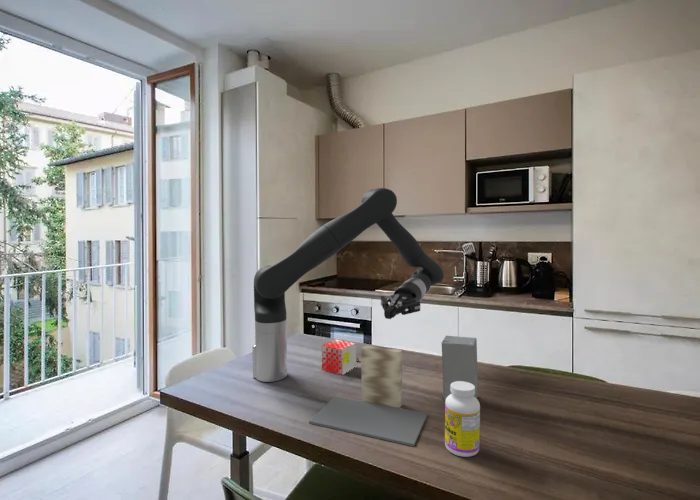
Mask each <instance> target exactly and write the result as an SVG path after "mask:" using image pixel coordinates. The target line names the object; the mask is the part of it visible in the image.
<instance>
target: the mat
mask: <svg viewBox="0 0 700 500" xmlns="http://www.w3.org/2000/svg"><path fill="white" fill-rule="evenodd" d="M428 416H429V415H428V412H425V411H424V412H423V411H419V410H418V411H417V410H413V409H407V408H402V407H400V408H397V407H391V406H386V405H380V404H375V403H369V402H364V401H362V400H357V399H352V398H347V397H341V396H336V395H335V396H334V397H332V399H331V400H330V401H329V402H328V403H327V404H325V405H324V407H322V408H321V409H320V410H319V411H318V412H317V413H316V414H315V415H314V416H313V417H312V418H311V419H310V420H309V422H308V423H309V424H311V425H316V426H320V427H325V428H329V429H334V430H338V431H341V432H342V431H343V432H347V433H351V434H356V435H361V436H364V437H365V436H366V437H369V438H374V439H379V440H383V441H387V442H392V443H397V444H401V445H406V446H409V447H415V445H416V443H417V440H418V438H419V436H420V434H421V432H422V428H424V424H425V422H426V420H427V418H428Z"/></svg>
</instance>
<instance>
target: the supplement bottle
mask: <svg viewBox="0 0 700 500" xmlns="http://www.w3.org/2000/svg"><path fill="white" fill-rule="evenodd" d="M450 391H451V393H452V394H450V395H449V396H448V397H447V398H446V401H445V402H444V405H445V409H444V410H445V411H444V444H445V448H446V449H447V450H448V452H450V453H451V454H453V455H455V456H458V457H461V458H462V457H464V458H470V457H473V456H476V455H477V454H478V453H479V451H480V438H481V437H480V436H481V435H480V432H481V431H480V430H481V429H480V427H481V420H480V419H481V404H480V402H479V399H478V398H477V399H476V398H475V397H474V395H475V386H474V385H473V384H471V383H468V382H464V381H456V382H453V383H451V385H450Z"/></svg>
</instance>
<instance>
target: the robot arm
mask: <svg viewBox="0 0 700 500" xmlns="http://www.w3.org/2000/svg"><path fill="white" fill-rule="evenodd" d="M397 204H398V198H397V195H396V193H395V192H394V191H393V190H391V189H389V188H385V187H379V188H373V189H372V188H371V189H370V190H367V191H366V192H364V194H363V195H362V198H361V204H359V205H358V206H357V207H356V208H354V209H352V210H350V211H349V212H346V213H344V214H342V215H340V216H337V217H335V218H334V219H332V220H330V221H328V222H326V223H325V224H323V225H322V226H320V227H318V228H317V229H315V230H314V232H312V233H311V234H310V235H308V237H306V238H305V239H304V240H303V241H302V242H301V243H300V244H299V245H298V247H296V249H295V250H294V251H292V253H290V254H289V255H287V256H286V257H284V258H282V259H281V260H280V261H278V262H276V263H275V264H272V265H264V266H262V267H261V268H259V269H258V270H257V271H256V272H255V274H254V277H253V308H254V309H253V310H254V330H255V331H254V333H255V334H254V335H255V337H254V339H255V340H254V341H255V343H254V345H252V378H254V379H256V380H257V381H259V382H266V383H270V382H278V381H279V382H280V381H282V380H283V379H286V377H288V352H287V351H288V348H287V347H288V341H287V338H288V337H287V336H288V335H287V334H288V333H287V331H288V330H287V329H288V327H287V325H288V323H287V322H288V321H287V307H286V296H285V295H286V292H287V291H288V290H289V289H290V288H291V287H292V286H293V285H294V284H295V283H297V282H298V281H299V280H300V279H301V278H303V276H305V275H306V274H307V273H308V272H310V271H312V270H313V269H316V268H317V267H318V266H320V265H321V264H323V263H325V261H328V259H330V258H332V257H333V256H334V255H335V254H337V253H338V252H340V251H341V250H342V249H344V247H346V246H347V245H349V243H351V242H353V241H354V240H355V239H356V238H357V237H359V235H361V234H362V233H363V232H365V231H366V230H367V229H369V228H370V227H372V226H374V225H375V224H376V225H377V226H378V227H379V228H380V229H381V231H382V232H383V233H384V234H385V235H386V236H387V238H388V239H389V241H390V242H391V243H392V245H393V246H394V247H395V248H396V250H397V251H398V254H400V256H401V258H402V259H403V260H404V262H405V263H406V264H407V265H408V266H409V267H410V268H416V269H415V270H414V271H413V272H412V273H411V275H410V278H409V279H406V280H405V281H404V282H403V283H402V284H401V285H399V286H398V287H397V288H396V289H395V290H394V293H393V294H391V295H390V296H388V297H385V296H384V295H381V296H380V306H381V307H382V309H383V311H384V312H383V313H384V317H385V318H384V319H386V320H387V319H388V320H391V319H394V318H395V317H396V316H398V315H400V314H401V315H402V316H404V315H410V314H413V313H417V312H421V301H422V300H423V299H424V297H425V295H426V294H427V293H428V292H429V290H430V289H431V286H436V285H437V284H441V283H442V282H443V280H444V279H445V278H444V277H445V276H444V275H445V274H444V270H443V268H442V267H441V265H439V263H438V262H437V261H435V260H434V259H432V258H431V257H430V256H429V255H428V254H427V253H426V252H425V251H424V249H423V248H422V247H421V246H420V244H419V242H418V241H417V239H416V238H415V237H414V236H413V235H412V234H411V232H410V231H408V230H407V229H406V228H405V227H404V226H403V225H402V224H401V223H400V222H399V221H398V219H396V217H395V216H394V214H393V213H394V211H395V210H396V207H397V206H398V205H397Z"/></svg>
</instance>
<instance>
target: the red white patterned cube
mask: <svg viewBox="0 0 700 500" xmlns="http://www.w3.org/2000/svg"><path fill="white" fill-rule="evenodd" d="M356 357H357V343H356V342H352V341H347V340H341V339H334V340H331V341H329V342H327V343H324V344H322V345H321V371H324V370H325V372H328V371H329V373H333V374H337V375H341V374H342V375H341V376H343V375H346V372H347V373H348V372H350V371H352V370H354V369H355V368H357V362H356ZM354 367H355V368H354ZM353 368H354V369H353ZM351 369H352V370H351ZM349 370H350V371H349Z"/></svg>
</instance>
